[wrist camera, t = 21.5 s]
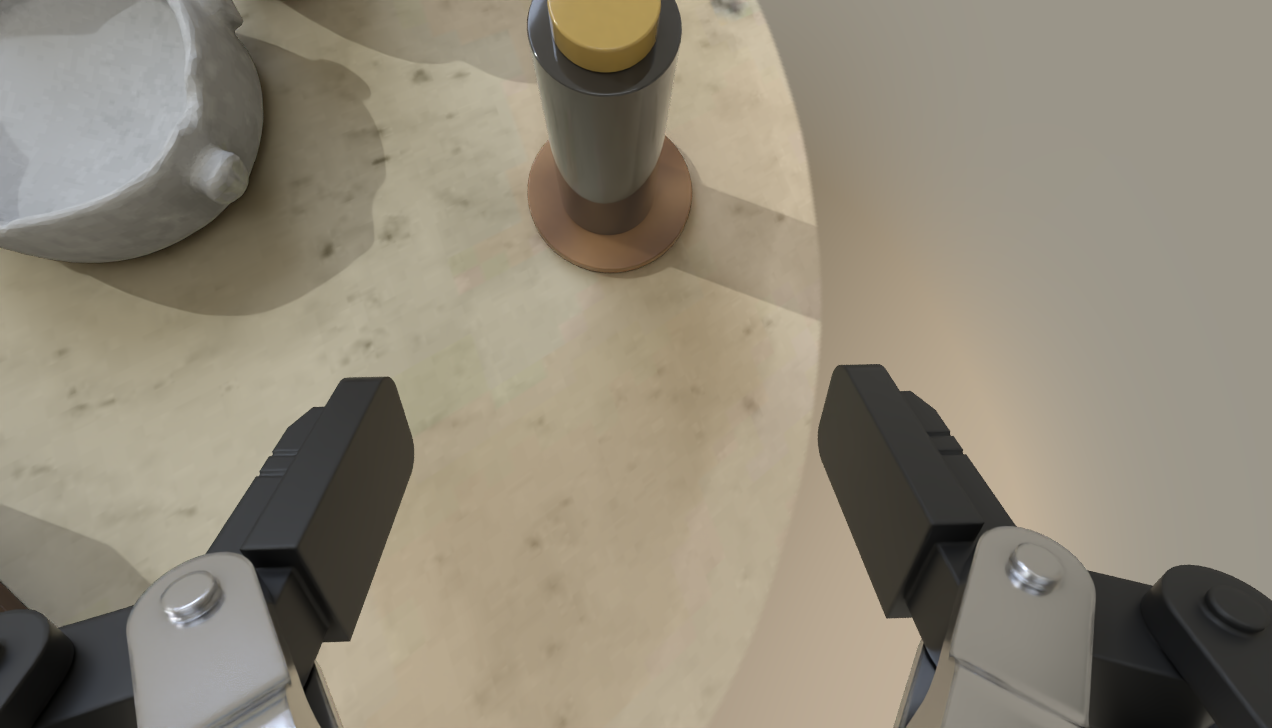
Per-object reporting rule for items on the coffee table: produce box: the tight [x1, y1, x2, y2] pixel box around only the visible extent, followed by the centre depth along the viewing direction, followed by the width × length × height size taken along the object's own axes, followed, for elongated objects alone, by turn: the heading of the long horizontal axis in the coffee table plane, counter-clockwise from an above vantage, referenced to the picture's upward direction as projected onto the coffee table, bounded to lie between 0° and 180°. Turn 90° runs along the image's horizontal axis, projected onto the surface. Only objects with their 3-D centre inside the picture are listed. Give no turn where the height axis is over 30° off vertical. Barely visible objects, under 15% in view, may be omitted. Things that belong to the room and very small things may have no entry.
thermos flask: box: [527, 0, 682, 235], centre depth 22 cm, size 5×5×12 cm
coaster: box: [528, 136, 692, 272], centre depth 28 cm, size 8×8×1 cm
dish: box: [0, 0, 263, 263], centre depth 25 cm, size 14×14×5 cm
